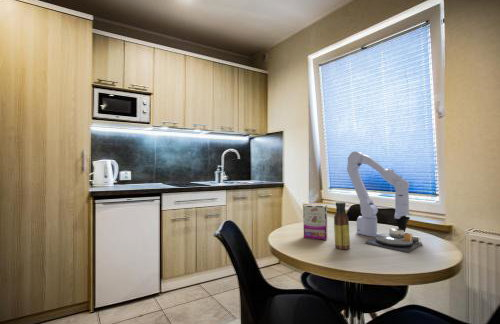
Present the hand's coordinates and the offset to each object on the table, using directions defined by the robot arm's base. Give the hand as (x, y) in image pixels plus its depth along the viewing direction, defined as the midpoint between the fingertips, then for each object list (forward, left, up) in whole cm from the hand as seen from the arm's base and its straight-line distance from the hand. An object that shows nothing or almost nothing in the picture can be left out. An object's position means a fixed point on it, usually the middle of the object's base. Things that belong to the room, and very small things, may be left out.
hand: (402, 231), depth 131 cm
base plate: (0, -11, -4) cm, 12 cm away
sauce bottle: (-13, -34, -4) cm, 37 cm away
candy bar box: (-30, -29, -4) cm, 42 cm away
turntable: (0, -11, -3) cm, 12 cm away
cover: (0, -7, -1) cm, 7 cm away
